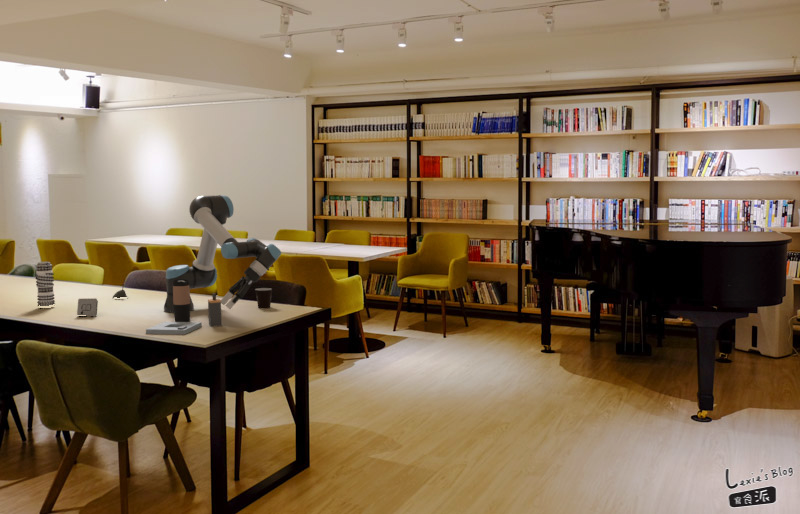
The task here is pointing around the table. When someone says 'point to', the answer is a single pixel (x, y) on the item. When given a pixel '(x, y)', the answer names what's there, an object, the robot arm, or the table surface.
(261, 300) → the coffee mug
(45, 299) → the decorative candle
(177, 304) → the travel mug
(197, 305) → the table surface
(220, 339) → the table surface
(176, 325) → the socket plate
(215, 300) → the plug
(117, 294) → the sword in stone
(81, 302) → the electrical switch
